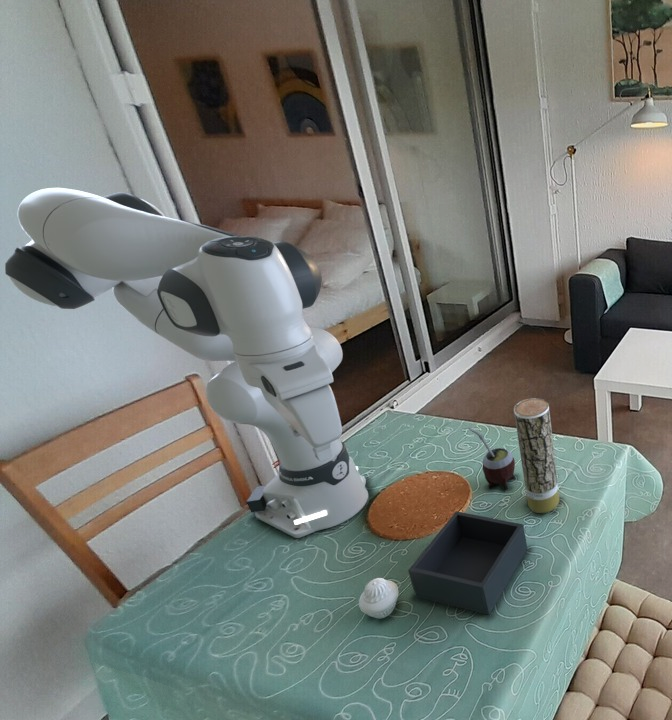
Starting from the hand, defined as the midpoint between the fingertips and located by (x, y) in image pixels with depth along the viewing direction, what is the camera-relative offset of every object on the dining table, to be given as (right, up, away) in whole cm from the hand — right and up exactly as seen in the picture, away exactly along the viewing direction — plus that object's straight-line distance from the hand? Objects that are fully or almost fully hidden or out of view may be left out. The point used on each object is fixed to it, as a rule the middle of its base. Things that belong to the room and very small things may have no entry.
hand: (312, 445), depth 73 cm
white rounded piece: (+4, -31, +13) cm, 34 cm away
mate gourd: (+15, -16, +43) cm, 48 cm away
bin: (+17, -27, +20) cm, 38 cm away
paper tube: (+27, -19, +36) cm, 49 cm away
